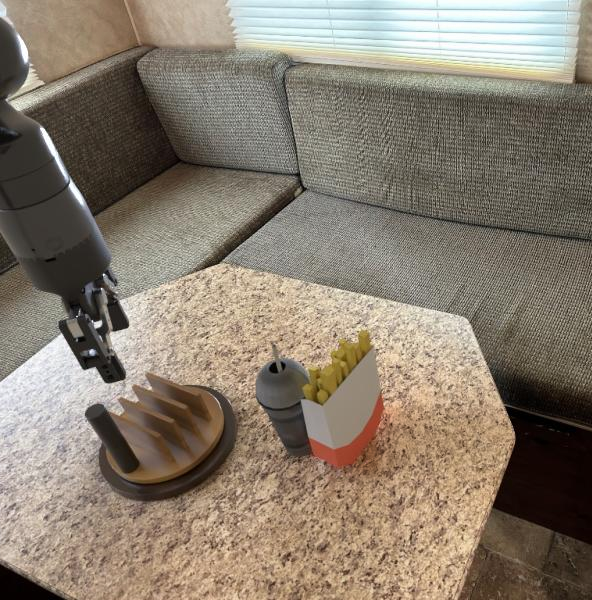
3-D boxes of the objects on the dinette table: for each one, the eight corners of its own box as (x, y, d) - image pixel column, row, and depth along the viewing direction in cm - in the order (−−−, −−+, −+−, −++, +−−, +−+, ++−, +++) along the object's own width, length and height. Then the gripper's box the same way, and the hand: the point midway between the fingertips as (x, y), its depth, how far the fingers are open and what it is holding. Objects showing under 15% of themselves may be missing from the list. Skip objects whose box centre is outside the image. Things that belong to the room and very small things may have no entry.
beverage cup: (309, 413, 88) (279, 311, 75) (337, 443, 84) (311, 340, 71) (265, 442, 85) (227, 340, 72) (293, 475, 81) (257, 373, 68)
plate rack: (166, 378, 94) (136, 318, 86) (246, 410, 88) (222, 349, 80) (83, 458, 84) (41, 399, 75) (168, 501, 77) (132, 442, 69)
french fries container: (314, 464, 82) (286, 374, 70) (359, 408, 88) (341, 317, 77) (342, 478, 80) (318, 388, 68) (386, 420, 86) (371, 328, 75)
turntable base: (136, 529, 77) (132, 523, 76) (82, 443, 88) (77, 437, 87) (263, 439, 86) (260, 433, 85) (198, 372, 97) (195, 365, 96)
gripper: (23, 204, 62) (89, 321, 72) (-6, 285, 51) (77, 409, 61) (99, 187, 63) (154, 305, 73) (86, 264, 52) (152, 389, 63)
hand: (119, 352), depth 67 cm, fingers open, 8 cm apart
